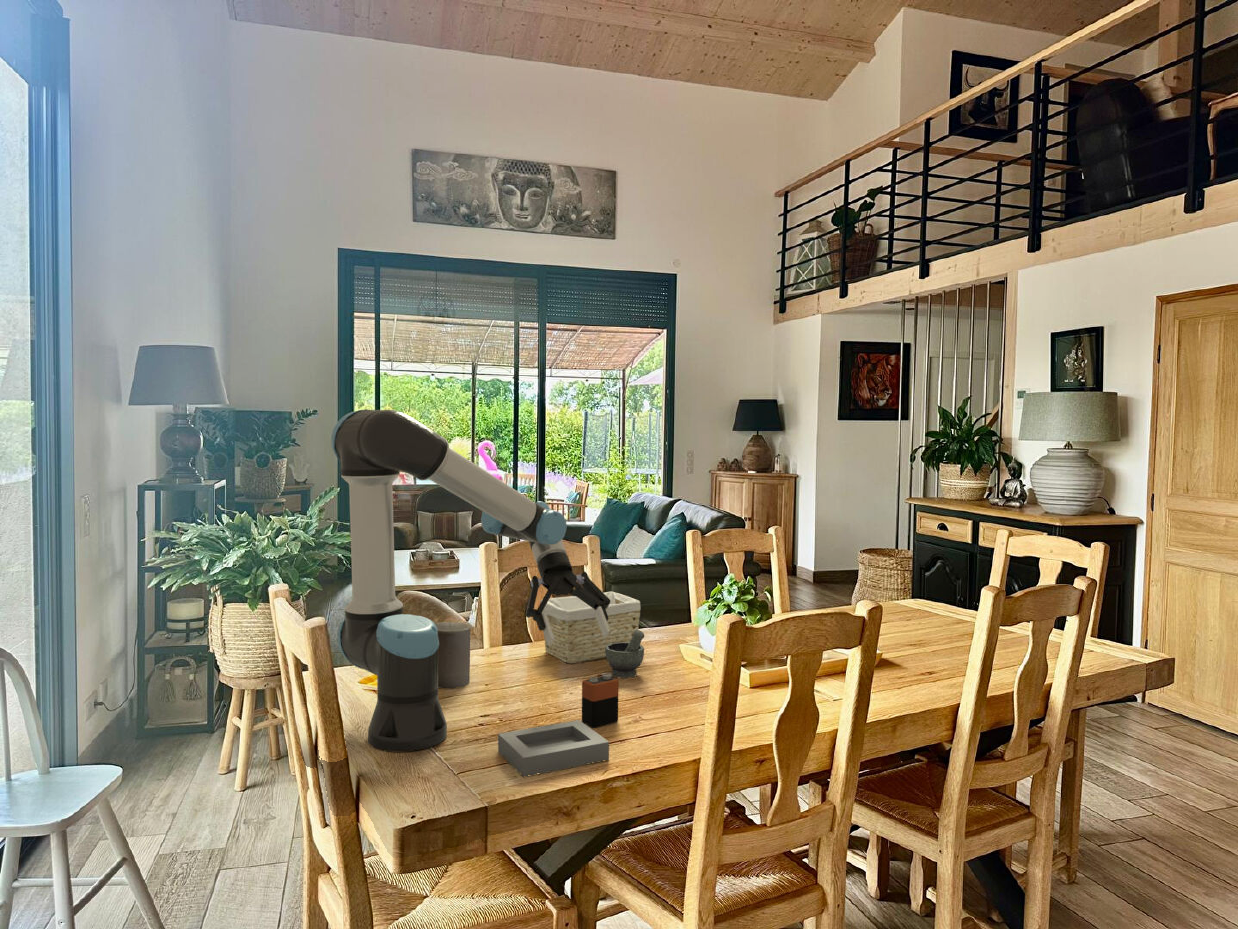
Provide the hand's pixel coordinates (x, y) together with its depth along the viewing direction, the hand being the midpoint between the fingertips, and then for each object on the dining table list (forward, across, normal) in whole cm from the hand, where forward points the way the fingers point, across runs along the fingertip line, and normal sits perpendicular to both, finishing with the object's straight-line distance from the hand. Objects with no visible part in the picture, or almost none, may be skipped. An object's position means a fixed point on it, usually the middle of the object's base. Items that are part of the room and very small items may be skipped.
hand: (579, 638), depth 187 cm
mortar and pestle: (0, -21, -23) cm, 31 cm away
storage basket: (-16, -22, -38) cm, 47 cm away
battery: (+19, 0, -3) cm, 19 cm away
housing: (+27, +16, +5) cm, 32 cm away
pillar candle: (-10, +20, -32) cm, 39 cm away
